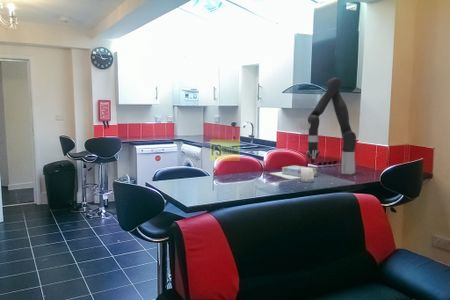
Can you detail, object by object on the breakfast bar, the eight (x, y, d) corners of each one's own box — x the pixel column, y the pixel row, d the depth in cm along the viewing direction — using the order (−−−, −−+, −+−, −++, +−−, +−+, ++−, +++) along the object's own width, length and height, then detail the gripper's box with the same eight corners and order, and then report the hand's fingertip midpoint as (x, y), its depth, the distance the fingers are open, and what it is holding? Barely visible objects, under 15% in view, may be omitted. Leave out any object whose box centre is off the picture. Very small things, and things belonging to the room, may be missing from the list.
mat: (292, 171, 295) (292, 171, 295) (313, 177, 272) (313, 176, 272) (269, 173, 285) (269, 173, 285) (289, 179, 262) (289, 178, 262)
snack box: (293, 172, 291) (281, 173, 281) (294, 164, 291) (281, 166, 281) (316, 175, 276) (304, 177, 266) (317, 168, 275) (305, 169, 265)
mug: (307, 179, 263) (307, 166, 262) (317, 182, 253) (317, 169, 252) (298, 180, 259) (298, 167, 258) (308, 183, 250) (308, 170, 249)
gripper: (309, 142, 278) (308, 164, 280) (323, 141, 284) (322, 163, 286) (303, 141, 285) (302, 163, 287) (316, 140, 291) (315, 162, 293)
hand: (312, 163), depth 286 cm, fingers closed
